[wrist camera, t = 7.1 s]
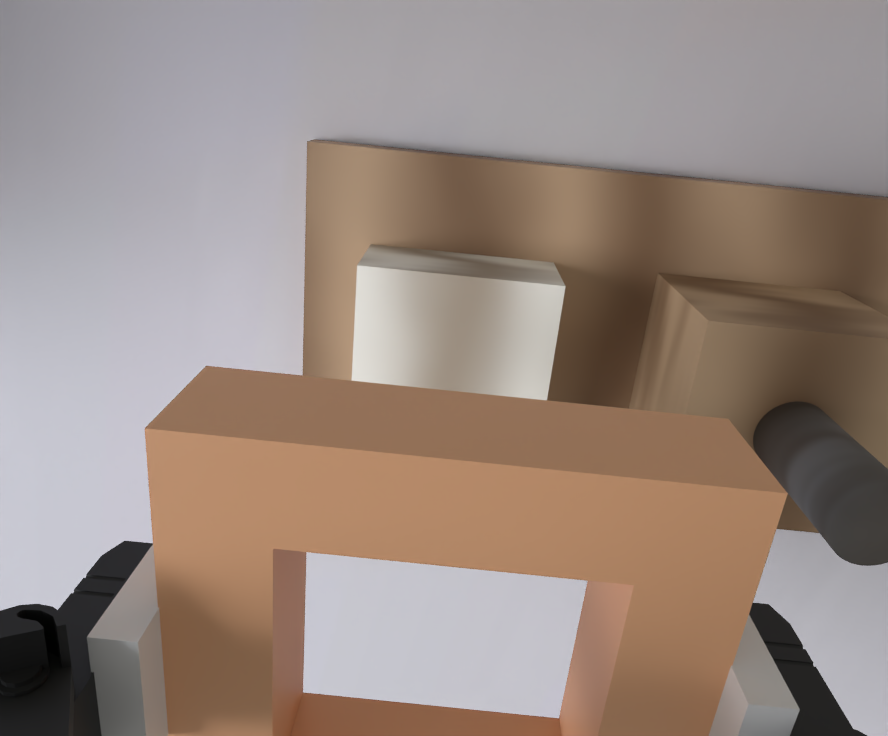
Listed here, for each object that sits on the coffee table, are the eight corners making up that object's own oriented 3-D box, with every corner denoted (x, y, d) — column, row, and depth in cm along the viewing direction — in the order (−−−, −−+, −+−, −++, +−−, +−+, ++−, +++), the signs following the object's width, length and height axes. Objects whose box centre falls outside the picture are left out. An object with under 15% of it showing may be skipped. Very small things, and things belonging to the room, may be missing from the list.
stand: (306, 463, 31) (215, 672, 20) (314, 139, 26) (196, 174, 15) (832, 514, 31) (1038, 751, 20) (943, 202, 26) (1304, 285, 15)
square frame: (219, 746, 15) (176, 858, 13) (206, 366, 12) (144, 428, 10) (628, 787, 15) (654, 906, 13) (728, 418, 12) (788, 493, 10)
